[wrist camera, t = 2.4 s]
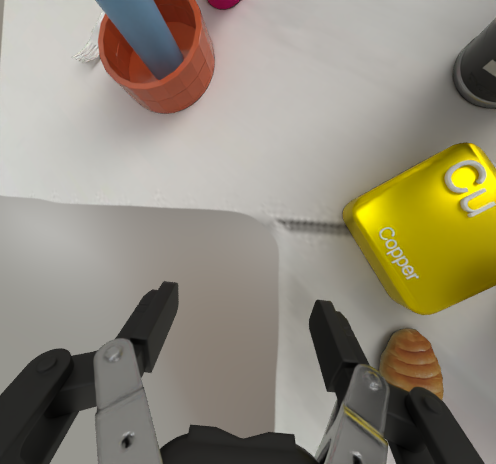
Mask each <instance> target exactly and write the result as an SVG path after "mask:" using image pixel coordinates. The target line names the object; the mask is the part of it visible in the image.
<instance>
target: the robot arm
mask: <svg viewBox="0 0 496 464" xmlns="http://www.w3.org/2000/svg"><path fill="white" fill-rule="evenodd" d="M453 75H454V82H455V85H456V87H457V89H458V91H459V92H460V94H461V95H462V96H463V97H464V98H465V99H467V100H468V101H470V102H471V103H473V104H475V105H478V106H482V107H487V108H496V18H495V19H494V20H493V21H492V22H491V23H490V24H489V25H488V26H487V27H486V28H485V29H484V30H483V31H482V32H481V33H480V34H479V35H478V36H477V37H476V38H474V39H473V40H472V41H471V42H470V43H469V44H468V45H467V46H466V47H465V48H464V49H463V51H462V52H461V53H460V55H459V56H458V58H457V60H456V63H455V66H454V73H453ZM177 309H178V283H175V282H174V283H173V282H166V281H164V282H163V283H162V285H161V286H160V288H159V289H158V290H151V291H150V292H148V293H147V294H146V295H145V296H143V298H142V299H141V301H140V302H139V305H137V307H136V308H135V310H134V312H133V313H132V315H131V316H130V318H129V319H128V321H127V322H126V324H125V325H124V327H123V328H122V330H121V331H120V333H119V334H118V336H117V337H116V338H115V339H114V340H112V341H109V342H108V343H106V344H104V345H103V346H102V347H101V348H100V349H99V350H97V351H94V352H90V353H84V354H79V355H74V356H71V354H70V352H69V351H68V350H65V349H53V350H50V351H47V352H45V353H43V354H41V355H39V356H38V357H36V358H35V359H34V360H32V361H31V362H30V363H29V364H28V365H27V366H26V367H25V368H24V369H23V370H22V372H21V373H20V374H19V375H18V376H17V377H16V378H15V379H14V381H13V382H12V383H11V384H10V385H9V386H8V387H7V388H6V389H5V390H4V392H3V393H2V394H1V395H0V464H49V463H50V462H51V460H52V458H53V456H54V455H55V453H56V451H57V449H58V448H59V446H60V444H61V442H62V441H63V439H64V437H65V435H66V434H67V432H68V430H69V428H70V426H71V425H72V423H73V421H74V419H75V418H76V416H77V414H78V412H79V411H81V410H85V409H88V408H92V407H96V406H97V413H96V414H95V426H96V441H97V456H98V464H386V461H387V453H388V444H389V446H390V449H391V451H392V454H393V457H394V459H395V462H396V464H484V462H483V460H482V459H481V457H480V456H479V454H478V453H477V451H476V450H475V448H474V447H473V445H472V444H471V442H470V441H469V439H468V438H467V436H466V435H465V433H464V432H463V430H462V428H461V427H460V425H459V424H458V422H457V421H456V419H455V418H454V416H453V415H452V413H451V412H450V410H449V409H448V407H447V406H446V405H445V403H444V402H443V401H442V400H441V399H440V398H439V397H438V396H436V395H435V394H434V393H432V392H431V391H429V390H427V389H425V388H423V387H414V388H412V389H411V391H410V392H408V391H406V390H404V389H401V388H399V387H397V386H394V385H392V384H390V383H388V382H387V381H386V379H385V378H384V377H383V375H382V374H381V373H380V372H379V371H377V370H376V369H375V368H373V367H371V366H370V365H369V363H368V361H367V359H366V357H365V355H364V353H363V351H362V349H361V347H360V345H359V343H358V341H357V339H356V337H355V335H354V333H353V331H352V330H351V326H350V324H349V322H348V320H347V319H346V318H345V317H344V316H343V315H342V314H341V312H338V311H336V310H335V308H334V306H333V304H332V302H331V301H325V300H316V302H315V305H314V307H313V310H312V313H311V316H310V319H309V329H310V333H311V337H312V340H313V344H314V347H315V351H316V354H317V358H318V361H319V365H320V369H321V372H322V376H323V379H324V383H325V386H326V390H327V392H335V393H336V396H337V400H336V402H335V405H334V408H333V411H332V413H331V416H330V419H329V422H328V425H327V427H326V430H325V433H324V436H323V439H322V441H321V443H320V445H319V448H318V450H317V452H316V454H315V457H313V456H312V455H311V454H310V453H309V452H307V451H306V450H305V449H304V448H302V447H300V446H299V445H297V444H295V436H294V434H285V433H274V432H268V433H264V434H260V435H256V436H252V437H248V438H244V439H243V438H239V437H237V436H235V435H232V434H230V433H228V432H226V431H224V430H221V429H219V428H217V427H210V426H200V425H190V428H189V433H188V434H184V435H181V436H179V437H176V438H175V439H173V440H172V441H170V442H168V443H167V444H165V445H164V446H163V447H162V448H161V449H159V445H158V442H157V437H156V433H155V429H154V425H153V421H152V417H151V413H150V409H149V405H148V401H147V397H146V393H145V390H144V387H143V384H142V381H141V377H142V375H143V373H144V372H148V373H151V372H152V370H153V368H154V365H155V363H156V361H157V358H158V355H159V353H160V351H161V349H162V346H163V344H164V341H165V339H166V337H167V335H168V332H169V330H170V327H171V325H172V322H173V320H174V318H175V316H176V313H177ZM384 438H385V439H387V441H388V443H387V441H386V440H385V439H384Z"/></svg>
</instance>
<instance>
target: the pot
mask: <svg viewBox="0 0 496 464" xmlns="http://www.w3.org/2000/svg"><path fill="white" fill-rule="evenodd" d="M154 2H155V4H156V6H157V8H158V10H159V11H160V13H161V15H162V17H163V19H164V21H165V23H166V25H167V26H168V28H169V30H170V32H171V34H172V36H173V38H174V40H175V41H176V43H177V45H178V47H179V49H180V51H181V53H182V55H183V58H184V61H183V62H182V63H181V64H180V65H179V66H178V67H177V69H176V70H175V71H174V72H172V73H170V74H169V75H167V76H166V77H164V78H163V79H161V80H158V79H157V78H156V77H155V76H154V75H153V74H152V72H151V71H150V70H149V69H148V67H147V66H146V65H145V63H144V62H143V61H142V60H141V58H140V57H139V56H138V55H137V53H136V52H135V51H134V49H133V48H132V47H131V46H130V44H129V43H128V42H127V40H126V39H125V38H124V37H123V35H122V34H121V33H120V31H119V30H118V29H117V28H116V26H115V25H114V24H113V22H112V21H111V20H110V19H109V17H108V16H107V15H106V13H105V15H104V17H103V19H102V22H101V24H100V30H99V36H98V48H99V56H100V59H101V61H102V63H103V65H104V68H105V70H106V72H107V73H108V74H109V75H110V76H111V77H112V78H113V79H114V80H115V81H116V82H117V83H118V84H119V85H120V86H121V87H122V88H123V89H124V90H125V91H126V92H128V93H129V94H130V95H131V96H132V97H133V98H134V99H135V100H136V101H137V102H138V103H139V104H140V105H142V106H143V107H145V108H146V109H148V110H150V111H153V112H157V113H174V112H178V111H181V110H183V109H185V108H187V107H189V106H190V105H192V104H193V103H194V102H196V101H197V100H198V99H199V98H200V97H201V96H202V94H203V93H204V92H205V90H206V89H207V87H208V85H209V83H210V81H211V78H212V75H213V71H214V63H215V60H214V51H213V48H212V43H211V40H210V37H209V34H208V31H207V29H206V26H205V23H204V20H203V17H202V14H201V11H200V9H199V7H198V5H197V3H196V1H195V0H154Z"/></svg>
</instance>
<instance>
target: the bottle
mask: <svg viewBox="0 0 496 464" xmlns="http://www.w3.org/2000/svg"><path fill="white" fill-rule="evenodd" d="M95 1H96V2H97V3H98V4H99V6H100V7H101V8H102V10H103V11H104V12H105V13H106V15H107V16H108V17H109V19H110V20H111V21H112V22H113V24H114V25H115V26H116V28H117V29H118V30H119V31H120V33H121V34H122V35H123V37H124V38H125V39H126V40H127V42H128V43H129V44H130V46H131V47H132V48H133V49H134V51H135V52H136V53H137V55H138V56H139V57H140V58H141V60H142V61H143V62H144V63H145V65H146V66H147V67H148V69H149V70H150V71H151V72H152V74H153V75H154V76H155V77H156V78H157V79H158V80H161V79H163V78H164V77H166V76H167V75H169V74H170V73H172V72H174V71H175V70H176V69H177V67H178V66H179V65H180V64H181V63H182V62H183V61H184V58H183V55H182V53H181V51H180V49H179V47H178V45H177V43H176V41H175V40H174V38H173V36H172V34H171V32H170V30H169V28H168V26H167V25H166V23H165V21H164V19H163V17H162V15H161V13H160V11H159V10H158V8H157V6H156V4H155V2H154V0H95Z"/></svg>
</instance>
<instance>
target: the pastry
mask: <svg viewBox="0 0 496 464" xmlns="http://www.w3.org/2000/svg"><path fill="white" fill-rule="evenodd" d="M380 358H381V361H380V367H379V372H380V373H381V374H382V375H383V377H384V378H385V379H386V381H387V382H388V383H390V384H392V385H394V386H397V387H399V388H401V389H404V390H406V391H408V392H410V391H411V389H412V388H414V387H423V388H425V389H427V390H429V391H431V392H432V393H434V394H435V395H436V396H438V397H439V398H440V399H441V400H442V398H443V392H444V391H443V383H442V380H443V377H442V374H441V368H440V366H439V364H438V360H437V358H436V357H435V355H434V352H433V349H432V347H431V343H430V342H429V341H428V340H427V339H426V338H425V337H423V336H422V335H421V334H420V333H419V332H418V331H417V330H415V329H408V328H407V329H402V330H399V331H397V332H395V333H393V335H392V336H391V338H390V341H388V345H387V347H386V349H385V350H384V351H383V353H382V354H381V357H380Z"/></svg>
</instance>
